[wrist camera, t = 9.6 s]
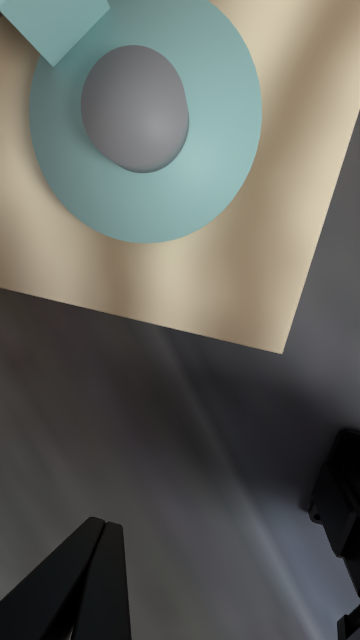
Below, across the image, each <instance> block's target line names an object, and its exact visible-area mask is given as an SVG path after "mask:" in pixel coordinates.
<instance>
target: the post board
mask: <svg viewBox="0 0 360 640" xmlns="http://www.w3.org/2000/svg"><path fill="white" fill-rule="evenodd" d="M208 1H209V2H211V3H212V4H213V5H215V6H216V7H217V8H218V9H219V10H220V11H221V12H222V13H223V14H224V15H225V16H226V17H227V18H228V19H229V20H230V21H231V23H232V24H233V25H234V27H235V28H236V29H237V31H238V32H239V33H240V35H241V37H242V39H243V40H244V42H245V44H246V46H247V48H248V50H249V52H250V55H251V57H252V60H253V62H254V65H255V68H256V72H257V76H258V79H259V83H260V91H261V99H262V123H261V133H260V139H259V143H258V148H257V152H256V155H255V158H254V161H253V163H252V166H251V169H250V171H249V173H248V175H247V177H246V179H245V181H244V183H243V185H242V186H241V188H240V189H239V191H238V192H237V194H236V195H235V197H234V198H233V200H232V201H231V202H230V203H229V205H228V206H227V207H226V208H225V209H224V210H223V211H222V212H221V213H220V214H219V215H218V216H217V217H216V218H215V219H214V220H212V221H211V222H210V223H208V224H207V225H205V226H204V227H202V228H201V229H199V230H197V231H195V232H193V233H191V234H189V235H187V236H184V237H181V238H178V239H175V240H170V241H165V242H159V243H131V242H127V241H122V240H117V239H114V238H111V237H109V236H106V235H103V234H101V233H99V232H97V231H95V230H93V229H92V228H90V227H89V226H87V225H86V224H84V223H83V222H81V221H80V220H79V219H77V218H76V217H75V216H74V215H73V214H72V213H71V212H69V211H68V210H67V208H66V207H65V206H64V205H63V204H62V203H61V202H60V201H59V199H58V198H57V197H56V195H55V194H54V192H53V191H52V189H51V188H50V186H49V185H48V183H47V181H46V179H45V177H44V175H43V173H42V171H41V169H40V166H39V164H38V161H37V159H36V155H35V151H34V148H33V144H32V138H31V132H30V124H29V101H30V91H31V85H32V80H33V75H34V72H35V69H36V65H37V62H38V59H39V57H40V55H41V54H40V53H39V52H38V51H37V49H36V48H35V47H34V46H33V45H32V44H31V43H30V42H29V41H28V40H27V39H26V38H25V37H24V36H23V35H22V34H21V33H20V32H19V30H18V29H17V28H16V27H15V26H14V25H13V24H12V23H11V22H10V21H9V20H8V19H7V18H6V17H5V16H4V15H3V14H2V13H1V12H0V288H4V289H8V290H12V291H16V292H21V293H25V294H29V295H33V296H38V297H42V298H46V299H50V300H55V301H59V302H63V303H67V304H72V305H76V306H80V307H84V308H88V309H93V310H97V311H101V312H105V313H110V314H114V315H118V316H122V317H127V318H131V319H135V320H139V321H143V322H148V323H152V324H156V325H160V326H165V327H169V328H173V329H177V330H182V331H186V332H190V333H194V334H199V335H203V336H207V337H211V338H215V339H220V340H224V341H228V342H232V343H237V344H241V345H245V346H249V347H254V348H258V349H262V350H266V351H270V352H275V353H279V354H282V353H283V350H284V346H285V343H286V340H287V337H288V334H289V331H290V327H291V324H292V321H293V318H294V315H295V312H296V308H297V305H298V302H299V299H300V296H301V293H302V289H303V286H304V283H305V280H306V277H307V274H308V271H309V267H310V264H311V261H312V258H313V255H314V252H315V248H316V245H317V242H318V239H319V236H320V233H321V229H322V226H323V223H324V220H325V217H326V214H327V211H328V207H329V204H330V201H331V198H332V195H333V192H334V188H335V185H336V182H337V179H338V176H339V173H340V169H341V166H342V163H343V160H344V157H345V154H346V150H347V147H348V144H349V141H350V138H351V135H352V132H353V128H354V125H355V122H356V119H357V116H358V113H359V109H360V0H208Z"/></svg>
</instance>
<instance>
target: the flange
mask: <svg viewBox="0 0 360 640" xmlns="http://www.w3.org/2000/svg"><path fill="white" fill-rule="evenodd" d="M0 12H1V13H2V14H3V15H4V16H5V17H6V18H7V19H8V20H9V21H10V22H11V23H12V24H13V25H14V26H15V27H16V28H17V29H18V30H19V32H20V33H21V34H22V35H23V36H24V37H25V38H26V39H27V40H28V41H29V42H30V43H31V44H32V45H33V46H34V47H35V48H36V49H37V51H38V52H39V53H40V54H41V55H40V57H39V59H38V62H37V65H36V69H35V72H34V75H33V80H32V85H31V91H30V101H29V124H30V132H31V138H32V144H33V148H34V151H35V155H36V159H37V161H38V164H39V166H40V169H41V171H42V173H43V175H44V177H45V179H46V181H47V183H48V185H49V186H50V188H51V189H52V191H53V192H54V194H55V195H56V197H57V198H58V199H59V201H60V202H61V203H62V204H63V205H64V206H65V207H66V208H67V210H68V211H69V212H71V213H72V214H73V215H74V216H75V217H76V218H77V219H79V220H80V221H81V222H83V223H84V224H86V225H87V226H89V227H90V228H92V229H93V230H95V231H97V232H99V233H101V234H103V235H106V236H109V237H111V238H114V239H117V240H122V241H127V242H131V243H159V242H165V241H170V240H175V239H178V238H181V237H184V236H187V235H189V234H191V233H193V232H195V231H197V230H199V229H201V228H202V227H204V226H205V225H207V224H208V223H210V222H211V221H212V220H214V219H215V218H216V217H217V216H218V215H219V214H220V213H221V212H222V211H223V210H224V209H225V208H226V207H227V206H228V205H229V203H230V202H231V201H232V200H233V198H234V197H235V195H236V194H237V192H238V191H239V189H240V188H241V186H242V185H243V183H244V181H245V179H246V177H247V175H248V173H249V171H250V169H251V166H252V163H253V161H254V158H255V155H256V152H257V148H258V143H259V139H260V133H261V123H262V99H261V91H260V83H259V79H258V76H257V72H256V68H255V65H254V62H253V60H252V57H251V55H250V52H249V50H248V48H247V46H246V44H245V42H244V40H243V39H242V37H241V35H240V33H239V32H238V31H237V29H236V28H235V27H234V25H233V24H232V23H231V21H230V20H229V19H228V18H227V17H226V16H225V15H224V14H223V13H222V12H221V11H220V10H219V9H218V8H217V7H216V6H215V5H213V4H212V3H211V2H209V1H208V0H0Z"/></svg>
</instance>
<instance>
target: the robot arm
mask: <svg viewBox="0 0 360 640" xmlns="http://www.w3.org/2000/svg"><path fill="white" fill-rule="evenodd" d="M347 436H351V437H350V439H348V440H344V439H345V437H347ZM312 498H313V499H312V501H311V504H310V506H309V509H308V514H309V517H310V519H311V521H312V522H314V523H317V524H321V525H323V527H324V529H325V532H326V534H327V537H328V540H329V542H330V545H331V548H332V550H333V552H334V554H335V555H336V557H339V558H343V560H344V563H345V565H346V568H347V570H348V573H349V575H350V577H351V580H352V582H353V585H354V587H355V590H356V592H357V595H358V596H359V598H360V431H356V430H352V429H342V430H341V431H339V433H338V434H337V437H336V439H335V442H334V445H333V447H332V450H331V452H330V455H329V457H328V459H327V460H326V461H325V462H324V463H323V466H322V468H321V471H320V473H319V476H318V479H317V481H316V484H315V486H314V489H313V492H312ZM317 513H318V515H315V514H317ZM72 630H73V631H72ZM71 632H72V636H71V640H132V638H131V625H130V613H129V600H128V588H127V575H126V562H125V550H124V537H123V527H122V526H121V525H120V524H116V523H113V522H107V523H106V522H105V521H104V520H102V519H99V518H96V517H89V518H88V519H87V520H86V521H85V522H84V523H83V524H82V525H80V526H79V527H78V528H77V529H76V530H75V531H74V532H73V533H72V534H71V535H70V536H69V537H68V538H67V539H66V540H65V541H63V542H62V543H61V544H60V545H59V546H58V547H57V548H56V549H55V550H54V551H53V552H52V553H51V554H50V555H49V556H48V557H47V558H45V559H44V560H43V561H42V562H41V563H40V564H39V565H38V566H37V567H36V568H35V569H34V570H33V571H32V572H31V573H30V574H28V575H27V576H26V577H25V578H24V579H23V580H22V581H21V582H20V583H19V584H18V585H17V586H16V587H15V588H14V589H13V590H12V591H10V592H9V593H8V594H7V595H6V596H5V597H4V598H3V599H2V600H1V601H0V640H68V639H69V637H70V635H71ZM337 632H338V640H360V605H358V606H357V607H356V608H355V609H354V610H353V611H352V612H351V613H350V614H349V615H346V614H345V615H344V616H343V617H342V618H341V619H339V620H338V621H337Z"/></svg>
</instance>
